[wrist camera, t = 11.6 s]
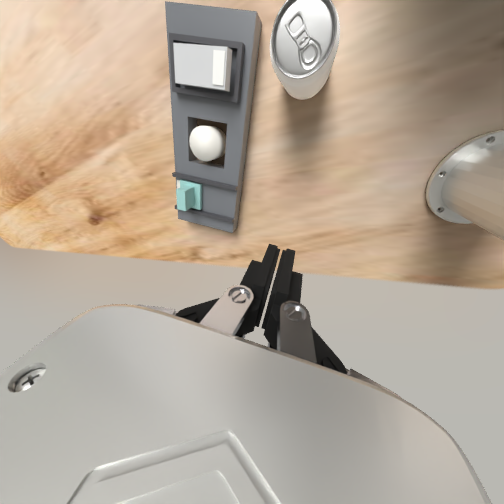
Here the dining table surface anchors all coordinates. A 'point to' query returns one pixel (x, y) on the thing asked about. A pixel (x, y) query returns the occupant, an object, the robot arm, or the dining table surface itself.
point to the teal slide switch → (189, 195)
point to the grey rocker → (203, 66)
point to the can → (304, 45)
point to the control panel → (214, 107)
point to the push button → (207, 142)
